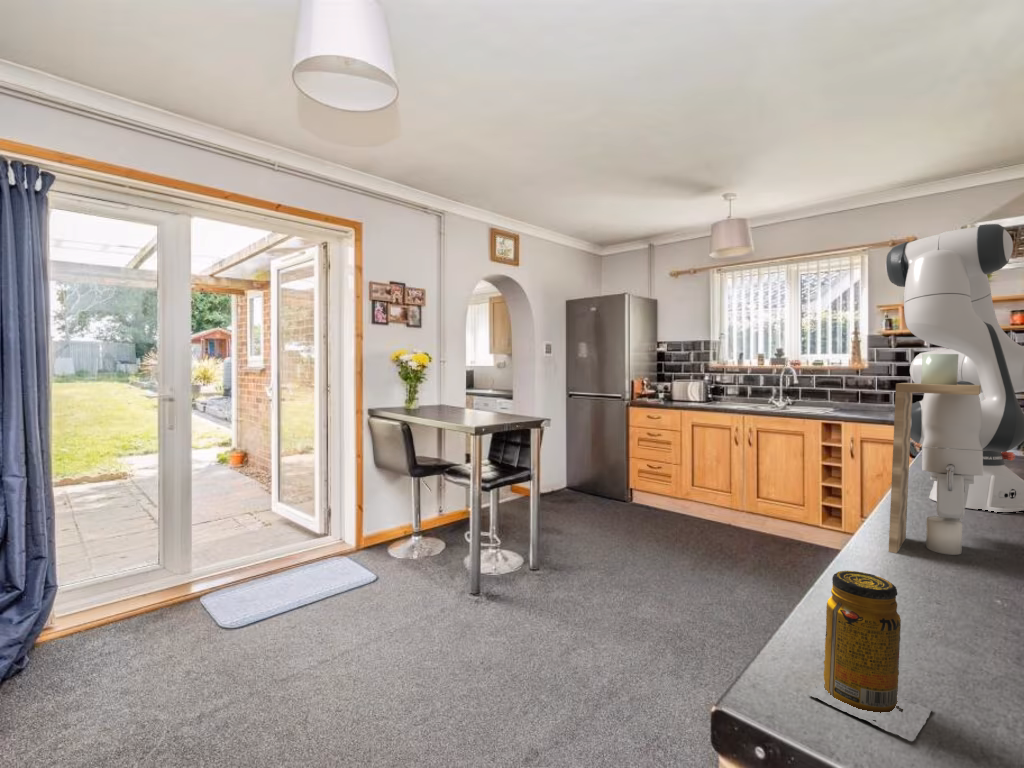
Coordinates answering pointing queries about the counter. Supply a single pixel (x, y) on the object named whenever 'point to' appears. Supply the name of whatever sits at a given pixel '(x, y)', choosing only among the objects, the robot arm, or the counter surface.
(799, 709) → the counter surface
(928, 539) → the cream rounded cylinder
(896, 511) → the oak counter shelf
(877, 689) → the condiment
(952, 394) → the robot arm
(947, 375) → the pale green cylinder
